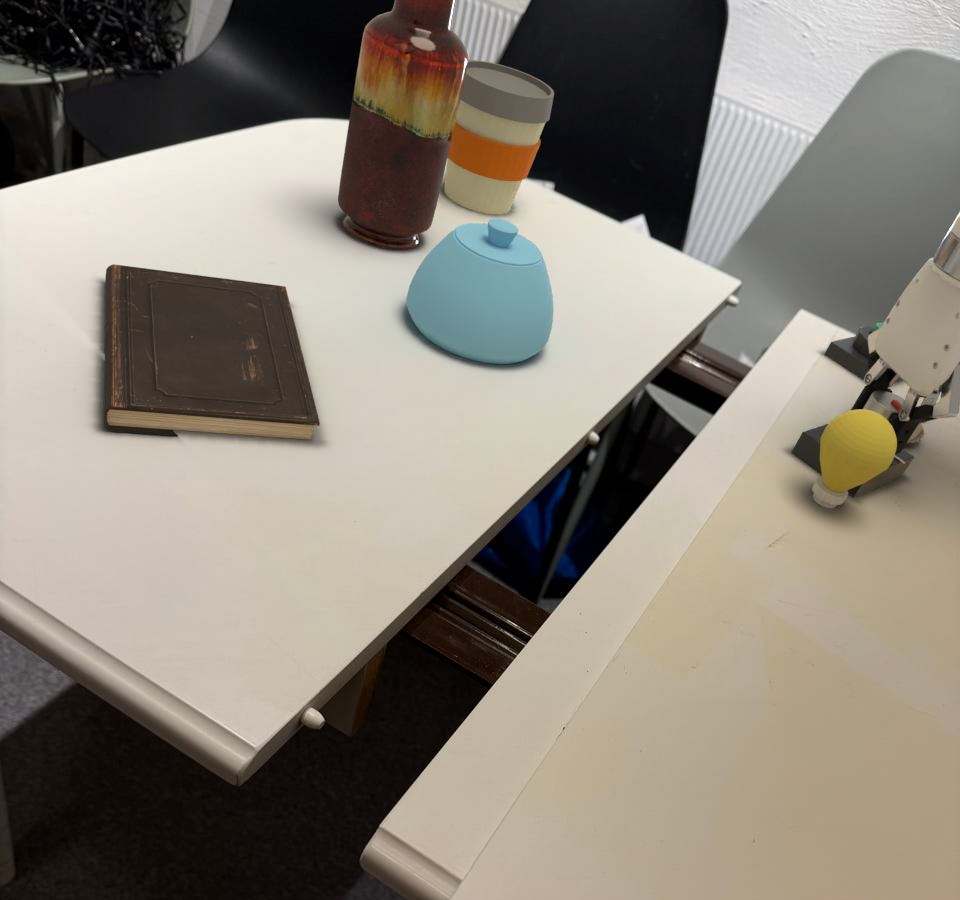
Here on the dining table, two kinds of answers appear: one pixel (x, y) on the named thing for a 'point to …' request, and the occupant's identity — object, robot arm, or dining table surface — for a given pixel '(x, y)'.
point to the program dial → (884, 403)
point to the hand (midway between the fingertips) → (872, 435)
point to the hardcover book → (202, 357)
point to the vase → (401, 122)
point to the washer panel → (810, 454)
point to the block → (853, 352)
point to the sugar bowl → (484, 294)
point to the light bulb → (852, 454)
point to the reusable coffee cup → (495, 136)
